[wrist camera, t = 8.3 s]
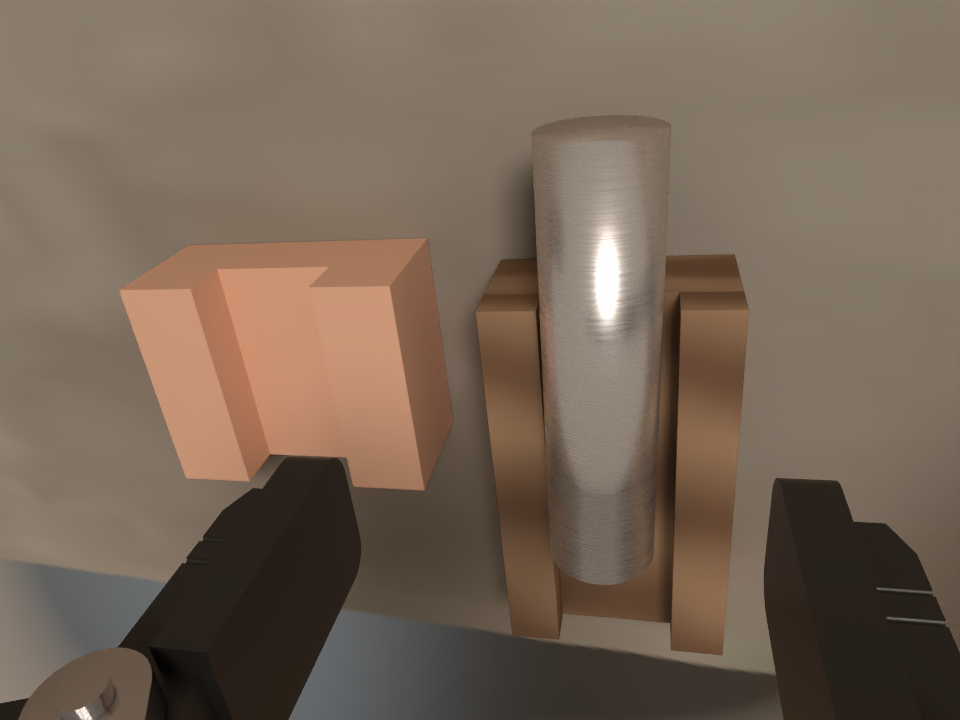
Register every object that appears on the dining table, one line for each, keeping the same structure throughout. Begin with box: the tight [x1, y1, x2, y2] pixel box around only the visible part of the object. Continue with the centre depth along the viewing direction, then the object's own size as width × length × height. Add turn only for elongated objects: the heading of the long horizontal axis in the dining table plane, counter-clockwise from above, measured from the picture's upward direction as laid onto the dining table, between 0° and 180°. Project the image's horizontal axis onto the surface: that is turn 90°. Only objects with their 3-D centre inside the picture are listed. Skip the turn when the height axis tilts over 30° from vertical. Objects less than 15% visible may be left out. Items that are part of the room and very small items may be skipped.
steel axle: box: [531, 115, 671, 585], centre depth 25 cm, size 16×4×4 cm, turn 4°
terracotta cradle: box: [119, 238, 453, 490], centre depth 31 cm, size 9×11×5 cm
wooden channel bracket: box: [476, 255, 749, 655], centre depth 30 cm, size 16×9×5 cm, turn 6°
